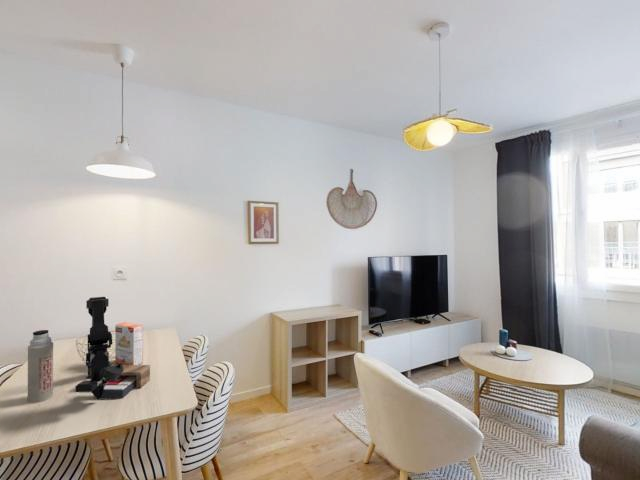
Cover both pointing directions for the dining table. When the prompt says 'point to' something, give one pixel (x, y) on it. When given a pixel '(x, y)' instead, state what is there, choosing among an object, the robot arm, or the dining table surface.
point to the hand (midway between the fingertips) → (98, 399)
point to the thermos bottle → (40, 367)
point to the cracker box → (129, 344)
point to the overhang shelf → (137, 373)
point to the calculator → (119, 387)
